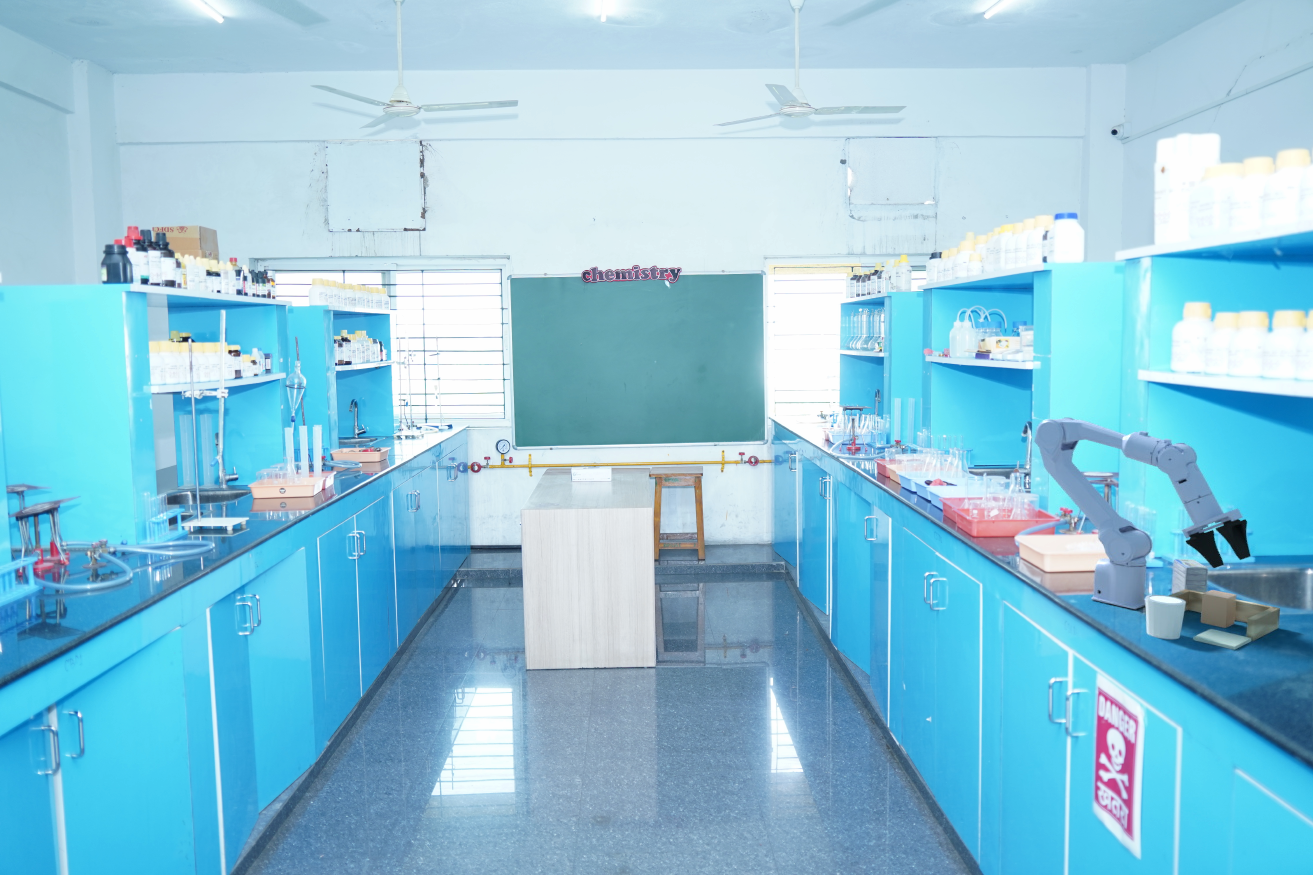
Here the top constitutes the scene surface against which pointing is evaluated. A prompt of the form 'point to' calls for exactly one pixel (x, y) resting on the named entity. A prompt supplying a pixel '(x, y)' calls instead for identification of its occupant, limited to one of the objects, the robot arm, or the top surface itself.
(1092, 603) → the top surface
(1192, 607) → the birch pen
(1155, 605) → the white cup
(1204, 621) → the terracotta block
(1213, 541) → the robot arm
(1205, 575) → the medicine box
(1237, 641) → the rubber mat
